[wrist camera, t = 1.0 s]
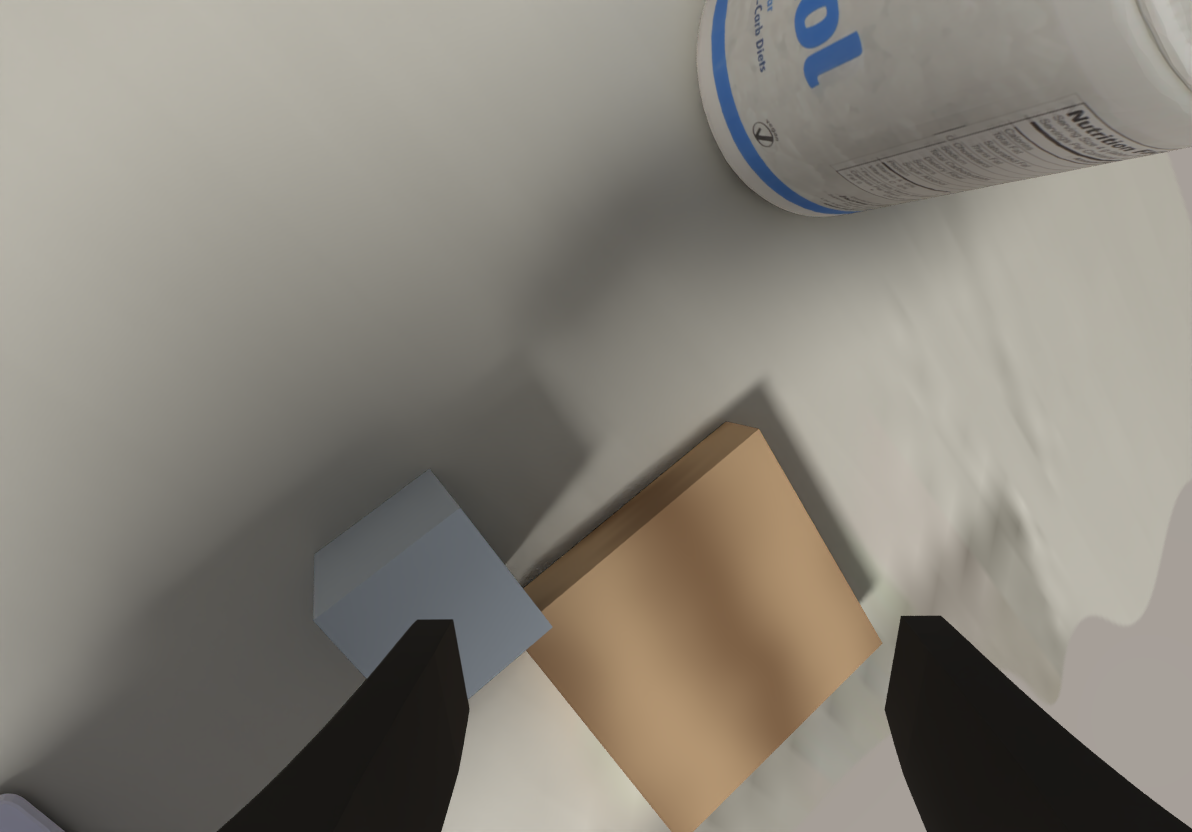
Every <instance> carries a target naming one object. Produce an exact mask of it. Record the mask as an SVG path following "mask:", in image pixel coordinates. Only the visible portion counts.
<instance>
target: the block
mask: <svg viewBox="0 0 1192 832" xmlns="http://www.w3.org/2000/svg"><path fill="white" fill-rule="evenodd" d="M417 619H453V621H454V626H455V632H456V637H457V643H458V648H459V654H460V659H461V665H462V670H463V676H464V681H465V687H466V692H467V698H468V699H469V698H470V697H471V696H473V695H474V694H475V693H476V692H477V691H478V690H480V689H481V688H482V687H483V686H484V685H485V684H487V683H488V682H489V681H490V680H491V679H493V678H494V677H495V676H496V675H497V674H498V673H500V672H501V671H502V670H503V669H504V668H505V667H507V666H508V665H509V664H510V663H511V662H513V661H514V660H515V659H516V658H517V657H518V656H520V655H521V654H522V653H523V652H524V651H525V650H527V649H528V648H529V647H530V646H531V645H532V644H534V643H535V642H536V641H537V640H538V639H540V638H541V637H542V636H543V635H544V634H545V633H547V632H548V631H549V630H550V629H551V628H552V625H551V624H550V623H549V622H548V620H547V619H546V618H545V616H544V615H543V614H542V612H541V611H540V610H539V609H538V607H537V606H536V605H535V603H534V602H533V601H532V600H531V598H530V597H529V596H528V594H527V593H526V592H525V590H524V589H523V588H522V587H521V585H520V584H519V583H518V581H517V580H516V579H515V578H514V576H513V575H512V574H511V572H510V571H509V570H508V569H507V567H506V566H505V565H504V563H503V562H502V561H501V559H500V558H499V557H498V556H497V554H496V553H495V552H494V550H493V549H492V548H491V547H490V545H489V544H488V543H487V541H486V540H485V539H484V538H483V536H482V535H481V534H480V532H479V531H478V530H477V528H476V527H475V526H474V525H473V523H472V522H471V521H470V519H469V518H468V517H467V516H466V514H465V513H464V512H463V510H462V509H461V508H460V507H459V505H458V504H457V503H456V501H455V500H454V499H453V498H452V496H451V495H450V494H449V493H448V491H447V490H446V489H445V488H444V486H443V485H442V484H441V483H440V481H439V480H438V479H437V478H436V476H435V475H434V474H433V472H432V471H431V470H430V469H428V470H427V471H425V472H424V473H423V474H421V475H420V476H419V477H417V478H416V479H415V480H413V481H412V482H411V483H409V484H408V485H407V486H405V487H404V488H403V489H401V490H400V491H399V492H397V493H396V494H395V495H393V496H392V497H391V498H389V499H388V500H386V501H385V502H384V503H382V504H381V505H380V506H378V507H377V508H376V509H374V510H373V511H372V512H370V513H369V514H368V515H366V516H365V517H364V518H362V519H361V520H360V521H358V522H357V523H356V524H354V525H353V526H352V527H350V528H349V529H348V530H346V531H345V532H344V533H342V534H341V535H339V536H338V537H337V538H335V539H334V540H333V541H331V542H330V543H329V544H327V545H326V546H325V547H323V548H322V549H321V550H319V551H318V552H317V553H315V557H314V603H313V621H314V622H315V623H316V624H317V625H318V627H319V628H320V629H321V630H322V631H323V632H324V633H325V634H326V635H327V636H328V637H329V639H330V640H331V641H332V642H333V643H334V644H335V645H336V646H337V647H338V648H339V649H340V650H341V652H342V653H343V654H344V655H345V656H346V657H347V658H348V659H349V660H350V661H351V662H352V664H353V665H354V666H355V667H356V668H357V669H358V670H359V671H360V672H361V673H362V674H363V675H364V677H365V678H366V679H367V678H368V677H369V675H370V674H371V673H372V672H373V671H374V670H375V668H376V667H377V666H378V665H379V664H380V662H381V661H382V660H383V659H384V658H385V656H386V655H387V654H388V653H389V652H390V650H391V649H392V648H393V647H394V646H395V644H396V643H397V642H398V641H399V639H400V638H401V637H402V636H403V635H404V633H405V632H406V631H407V630H408V629H409V627H410V626H411V625H412V624H413V623H414V622H415V621H416V620H417Z"/></svg>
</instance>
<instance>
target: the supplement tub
mask: <svg viewBox="0 0 1192 832" xmlns="http://www.w3.org/2000/svg"><path fill="white" fill-rule="evenodd" d="M696 60H697V75H698V82H699V89H700V94H701V99H702V104H703V108H704V111H705V114H706V117H707V121H708V123H709V126H710V129H711V131H712V134H713V136H714V138H715V140H716V143H717V145H718V147H719V149H720V150H721V152H722V154H723V156H724V158H725V159H726V161H727V162H728V164H729V165H730V167H731V168H732V169H733V170H734V172H735V173H736V174H737V175H738V176H739V178H740V179H741V180H742V181H743V182H744V183H745V184H746V185H747V186H748V187H749V188H750V189H752V190H753V191H754V192H756V193H757V194H758V195H759V196H761V197H762V198H764V199H765V200H767V201H768V202H770V203H772V204H774V205H775V206H777V207H780V208H782V209H784V210H786V211H789V212H792V213H796V214H800V215H804V216H811V217H831V216H839V215H844V214H849V213H855V212H860V211H865V210H870V209H875V208H881V207H886V206H891V205H896V204H901V203H906V202H911V201H916V200H922V199H927V198H932V197H937V196H942V195H948V194H953V193H958V192H963V191H968V190H974V189H979V188H984V187H988V186H993V185H998V184H1003V183H1009V182H1014V181H1019V180H1025V179H1030V178H1035V177H1040V176H1045V175H1051V174H1056V173H1061V172H1066V171H1071V170H1076V169H1081V168H1086V167H1091V166H1096V165H1101V164H1107V163H1112V162H1117V161H1122V160H1127V159H1132V158H1138V157H1143V156H1148V155H1153V154H1158V153H1163V152H1168V151H1173V150H1178V149H1183V148H1188V147H1192V0H706V1H705V4H704V8H703V11H702V15H701V20H700V25H699V32H698V39H697V55H696Z"/></svg>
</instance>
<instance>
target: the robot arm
mask: <svg viewBox="0 0 1192 832" xmlns="http://www.w3.org/2000/svg"><path fill="white" fill-rule="evenodd" d="M885 712H886V716H887V720H888V723H889V727H890V731H891V734H892V738H893V741H894V745H895V748H896V752H897V755H898V758H899V762H900V765H901V768H902V772H903V774H904V777H905V779H906V782H907V785H908V787H909V790H910V792H911V794H912V797H913V799H914V802H915V804H916V806H917V809H918V811H919V814H920V816H921V819H922V821H923V823H924V826H925V828H926V830H927V832H1192V829H1191V828H1190V827H1189V826H1187V825H1186V824H1185V823H1183V822H1182V821H1180V820H1179V819H1178V818H1176V817H1175V816H1174V815H1172V814H1171V813H1169V812H1168V811H1167V810H1165V809H1164V808H1163V807H1161V806H1160V805H1159V804H1157V803H1156V802H1155V801H1153V800H1152V799H1150V798H1149V797H1148V796H1147V795H1146V794H1144V793H1143V792H1142V791H1140V790H1139V789H1138V788H1136V787H1135V786H1134V785H1133V784H1131V783H1130V782H1129V781H1127V780H1126V779H1125V778H1124V777H1123V776H1122V775H1120V774H1119V773H1118V772H1116V771H1115V770H1114V769H1113V768H1112V767H1110V766H1109V765H1108V764H1107V763H1105V762H1104V761H1103V760H1102V759H1101V758H1099V757H1098V756H1097V755H1096V754H1094V753H1093V752H1092V751H1091V750H1089V749H1088V748H1087V747H1086V746H1085V745H1083V744H1082V743H1081V742H1080V741H1079V740H1078V739H1076V738H1075V737H1074V736H1073V735H1072V734H1070V733H1069V732H1068V731H1067V730H1066V729H1065V728H1063V727H1062V726H1061V725H1060V724H1059V723H1058V722H1057V721H1055V720H1054V719H1053V718H1052V717H1051V716H1050V715H1049V714H1047V713H1046V712H1045V711H1044V710H1043V709H1042V708H1041V707H1039V706H1038V705H1037V704H1036V703H1035V702H1034V701H1033V700H1031V699H1030V698H1029V697H1028V696H1027V695H1026V694H1025V693H1024V692H1023V691H1022V690H1020V689H1019V688H1018V687H1017V686H1016V685H1015V684H1014V683H1013V682H1012V681H1011V680H1009V678H1007V677H1006V676H1005V675H1004V674H1003V673H1002V672H1001V671H1000V670H999V669H998V668H997V667H996V666H994V665H993V664H992V663H991V662H990V661H989V660H988V659H987V658H986V657H985V656H984V655H983V654H982V653H980V652H979V651H978V650H977V649H976V648H975V647H974V646H973V645H972V644H971V643H970V642H969V641H968V640H967V639H966V638H965V637H963V636H962V635H961V634H960V633H959V632H958V631H957V630H956V629H955V628H954V627H953V626H952V625H951V624H949V623H948V622H947V621H946V620H945V619H944V618H943V617H942V616H901V619H900V625H899V630H898V636H897V642H896V648H895V653H894V659H893V665H892V671H891V676H890V682H889V688H888V694H887V699H886V705H885ZM468 715H469V703H468V698H467V692H466V687H465V681H464V676H463V670H462V665H461V659H460V654H459V648H458V643H457V637H456V632H455V626H454V621H453V619H417V620H416V621H415V622H414V623H413V624H412V625H411V626H410V627H409V629H408V630H407V631H406V632H405V633H404V635H403V636H402V637H401V638H400V639H399V641H398V642H397V643H396V644H395V646H394V647H393V648H392V649H391V650H390V652H389V653H388V654H387V655H386V656H385V658H384V659H383V660H382V661H381V662H380V664H379V665H378V666H377V667H376V668H375V670H374V671H373V672H372V673H371V674H370V675H369V677H368V678H367V679H366V680H365V681H364V683H363V684H362V685H361V686H360V687H359V688H358V689H357V691H356V692H355V693H354V694H353V695H352V696H351V697H350V699H349V700H348V701H347V702H346V703H345V704H344V705H343V706H342V708H341V709H340V710H339V711H338V712H337V713H336V714H335V715H334V717H333V718H332V719H331V720H330V721H329V722H328V723H327V724H326V725H325V727H324V728H323V729H322V730H321V731H320V732H319V733H318V734H317V735H316V736H315V737H314V738H313V739H312V740H311V741H310V742H309V743H308V744H307V745H306V746H305V748H304V749H303V750H302V751H301V752H300V753H299V754H298V755H297V756H296V757H295V758H294V759H293V760H292V761H291V762H290V763H289V764H288V765H287V766H286V767H285V768H284V769H283V770H282V771H281V772H280V773H279V774H278V775H277V776H276V777H275V778H274V779H273V780H272V781H271V782H270V783H269V784H268V785H267V786H266V787H265V788H264V789H263V790H262V791H261V792H260V793H259V794H258V795H257V796H256V797H254V798H253V799H252V800H251V801H250V802H249V803H248V804H247V805H246V806H245V807H244V808H243V809H242V810H240V811H239V812H238V813H237V814H236V815H235V816H234V817H233V818H232V819H230V820H229V821H228V822H227V823H226V824H225V825H224V826H223V827H222V828H221V829H219V830H218V831H217V832H441V830H442V827H443V824H444V820H445V817H446V813H447V810H448V806H449V803H450V800H451V796H452V793H453V789H454V786H455V782H456V779H457V775H458V772H459V766H460V761H461V756H462V750H463V745H464V739H465V733H466V727H467V721H468ZM0 832H65V831H64V830H62V829H61V828H60V827H59V826H57V825H56V824H55V823H54V822H53V821H51V820H50V819H49V818H48V817H46V816H45V815H44V814H43V813H41V812H40V811H39V810H38V809H37V808H35V807H34V806H33V805H32V804H30V803H29V802H28V801H27V800H25V799H24V798H23V797H21V796H19V795H17V794H9V793H6V794H1V795H0Z"/></svg>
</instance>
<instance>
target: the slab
mask: <svg viewBox="0 0 1192 832" xmlns="http://www.w3.org/2000/svg"><path fill="white" fill-rule="evenodd" d="M523 589H524V590H525V592H526V593H527V594H528V596H529V597H530V598H531V600H532V601H533V602H534V603H535V605H536V606H537V607H538V609H539V610H540V611H541V612H542V614H543V615H544V616H545V618H546V619H547V620H548V622H549V623H550V624H551V625H552V628H551V629H550V630H549V631H548V632H547V633H545V634H544V635H543V636H542V637H541V638H540V639H538V640H537V641H536V642H535V643H534V644H532V645H531V646H530V647H529V648H528V649H527V650H526V651H527V652H528V653H529V655H530V656H531V657H532V658H533V660H534V661H535V662H536V663H537V664H538V666H539V667H540V668H541V669H542V671H543V672H544V673H545V674H546V676H547V677H548V678H549V679H550V681H551V682H552V683H553V684H554V686H555V687H556V688H557V689H558V691H559V692H560V693H561V694H562V696H563V697H564V698H565V699H566V701H567V702H568V703H569V704H570V706H571V707H572V708H573V709H574V711H575V712H576V713H577V714H578V716H579V717H580V718H581V719H582V721H583V722H584V723H585V724H586V726H587V727H588V728H589V729H590V731H591V732H592V733H593V734H594V736H595V737H596V738H597V739H598V741H599V742H600V743H601V744H602V746H603V747H604V748H605V749H606V751H607V752H608V753H609V754H610V756H611V757H612V758H613V759H614V761H615V762H616V763H617V764H618V766H619V767H620V768H621V769H622V771H623V772H624V773H625V774H626V776H627V777H628V778H629V779H630V781H631V782H632V783H633V784H634V785H635V787H636V788H637V789H638V790H639V792H640V793H641V794H642V795H643V797H644V798H645V799H646V800H647V802H648V803H649V804H650V805H651V807H652V808H653V809H654V810H655V812H656V813H657V814H658V815H659V817H660V818H661V819H662V820H663V822H664V823H665V824H666V825H667V827H668V828H669V829H670V830H671V832H693V831H694V830H695V829H696V828H697V827H698V826H699V825H700V824H701V823H702V822H703V821H704V820H705V819H706V818H707V817H708V816H709V815H710V814H711V813H712V812H713V811H714V810H715V809H716V808H717V807H718V806H719V805H720V804H721V803H722V802H723V801H724V800H725V799H726V798H727V797H728V796H729V795H730V794H731V793H732V792H733V791H734V790H735V789H736V788H737V787H738V786H739V785H740V784H741V783H742V782H743V781H744V780H745V779H746V778H747V777H749V776H750V775H751V774H752V773H753V772H754V771H755V770H756V769H757V768H758V767H759V766H760V765H761V764H762V763H763V762H764V761H765V760H766V759H767V758H768V757H769V756H770V755H771V754H772V753H773V752H774V751H775V750H776V749H777V748H778V747H779V746H780V745H781V744H782V743H783V742H784V741H785V740H786V739H787V738H788V737H789V736H790V735H791V734H792V733H793V732H794V731H795V730H796V729H797V728H798V727H799V726H800V725H801V724H802V723H803V722H804V721H805V720H806V719H807V718H808V717H809V716H810V715H811V714H812V713H813V712H814V711H815V710H816V709H817V708H818V707H819V706H820V705H821V704H822V703H823V702H824V701H825V700H826V699H827V698H828V697H829V696H830V695H831V694H832V693H833V692H834V691H835V690H836V689H837V688H838V687H839V686H840V685H841V684H842V683H843V682H844V681H845V680H846V679H847V678H848V677H849V676H850V675H851V674H852V673H853V672H854V671H855V670H856V669H857V668H858V667H859V666H860V665H861V664H862V663H863V662H864V661H865V660H866V659H867V658H868V657H869V656H870V655H871V654H872V653H873V652H874V651H875V650H876V649H877V648H878V647H879V646H880V645H881V644H882V642H881V640H880V638H879V637H878V635H877V633H876V631H875V630H874V628H873V626H872V624H871V623H870V621H869V619H868V618H867V616H866V614H865V612H864V611H863V609H862V607H861V605H860V604H859V602H858V600H857V598H856V597H855V595H854V593H853V591H852V590H851V588H850V586H849V584H848V583H847V581H846V579H845V578H844V576H843V574H842V572H841V571H840V569H839V567H838V565H837V564H836V562H835V560H834V558H833V557H832V555H831V553H830V551H829V550H828V548H827V546H826V544H825V543H824V541H823V539H822V538H821V536H820V534H819V532H818V531H817V529H816V527H815V525H814V524H813V522H812V520H811V518H810V517H809V515H808V513H807V511H806V510H805V508H804V506H803V505H802V503H801V501H800V499H799V498H798V496H797V494H796V492H795V491H794V489H793V487H792V485H791V484H790V482H789V480H788V478H787V477H786V475H785V473H784V471H783V470H782V468H781V466H780V465H779V463H778V461H777V459H776V458H775V456H774V454H773V452H772V451H771V449H770V447H769V445H768V444H767V442H766V440H765V438H764V437H763V435H762V433H761V431H760V430H759V429H757V428H753V427H748V426H744V425H739V424H735V423H730V422H725V423H724V424H722V425H721V426H720V427H719V428H718V429H716V430H715V431H714V432H713V433H711V434H710V435H709V436H708V437H707V438H705V439H704V440H703V441H702V442H701V443H699V444H698V445H697V446H696V447H694V448H693V449H692V450H691V451H690V452H688V453H687V454H686V455H685V456H683V457H682V458H681V459H680V460H679V461H677V462H676V463H675V464H674V465H673V466H671V467H670V468H669V469H668V470H666V471H665V472H664V473H663V474H662V475H660V476H659V477H658V478H657V479H656V480H654V481H653V482H652V483H651V484H649V485H648V486H647V487H646V488H645V489H643V490H642V491H641V492H640V493H639V494H637V495H636V496H635V497H634V498H632V499H631V500H630V501H629V502H628V503H626V504H625V505H624V506H623V507H622V508H620V509H619V510H618V511H617V512H615V513H614V514H613V515H612V516H611V517H609V518H608V519H607V520H606V521H605V522H603V523H602V524H601V525H600V526H598V527H597V528H596V529H595V530H594V531H592V532H591V533H590V534H589V535H588V536H586V537H585V538H584V539H583V540H581V541H580V542H579V543H578V544H577V545H575V546H574V547H573V548H572V549H571V550H569V551H568V552H567V553H566V554H564V555H563V556H562V557H561V558H560V559H558V560H557V561H556V562H555V563H554V564H552V565H551V566H550V567H549V568H547V569H546V570H545V571H544V572H543V573H541V574H540V575H539V576H538V577H537V578H535V579H534V580H533V581H532V582H530V583H529V584H528V585H527V586H526V587H524V588H523Z"/></svg>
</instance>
